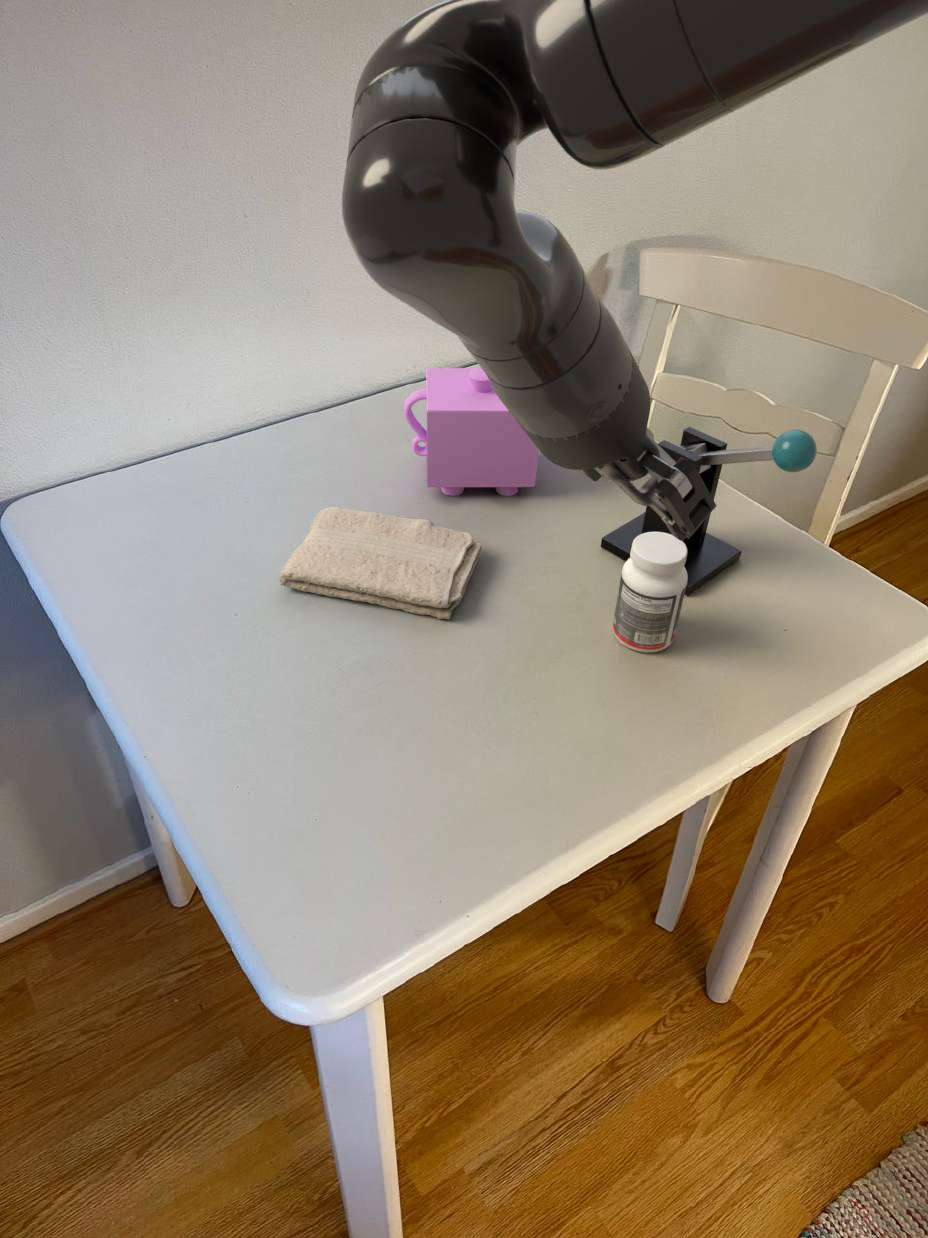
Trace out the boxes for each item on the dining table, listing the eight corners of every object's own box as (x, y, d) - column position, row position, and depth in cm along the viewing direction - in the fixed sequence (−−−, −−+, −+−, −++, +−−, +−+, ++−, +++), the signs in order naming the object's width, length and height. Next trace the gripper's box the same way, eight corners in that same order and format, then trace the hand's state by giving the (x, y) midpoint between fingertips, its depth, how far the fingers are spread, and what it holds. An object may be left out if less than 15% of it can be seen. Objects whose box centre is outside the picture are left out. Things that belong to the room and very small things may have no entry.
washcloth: (456, 625, 83) (457, 599, 81) (275, 592, 86) (271, 566, 84) (485, 552, 92) (486, 527, 90) (320, 524, 95) (317, 500, 93)
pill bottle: (637, 606, 86) (653, 519, 79) (686, 635, 83) (708, 547, 76) (598, 633, 83) (613, 545, 76) (648, 664, 80) (668, 575, 73)
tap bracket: (739, 560, 92) (770, 449, 84) (687, 596, 87) (714, 483, 79) (653, 515, 98) (674, 407, 90) (600, 547, 93) (616, 436, 85)
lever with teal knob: (828, 462, 77) (820, 421, 76) (806, 477, 75) (798, 435, 74) (692, 472, 88) (684, 436, 87) (670, 485, 86) (661, 449, 85)
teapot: (404, 499, 99) (402, 394, 91) (405, 452, 107) (403, 352, 99) (584, 498, 100) (597, 395, 92) (572, 452, 108) (583, 353, 100)
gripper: (705, 379, 47) (756, 507, 61) (527, 280, 55) (607, 414, 69) (612, 488, 48) (683, 591, 61) (447, 375, 55) (543, 489, 69)
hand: (643, 497), depth 65 cm, fingers open, 8 cm apart
